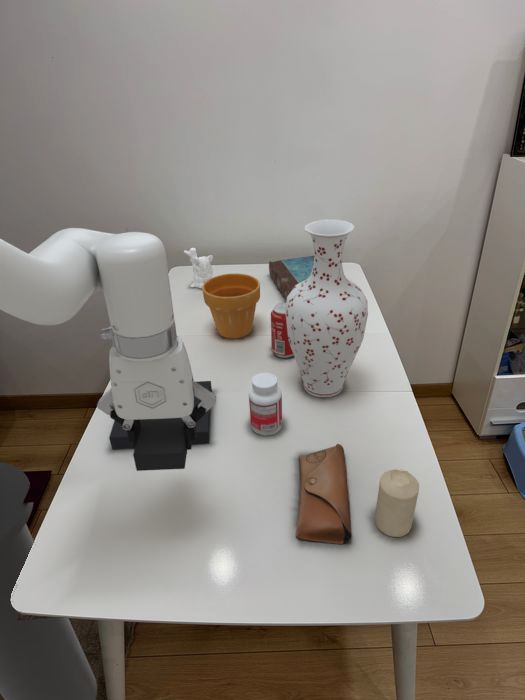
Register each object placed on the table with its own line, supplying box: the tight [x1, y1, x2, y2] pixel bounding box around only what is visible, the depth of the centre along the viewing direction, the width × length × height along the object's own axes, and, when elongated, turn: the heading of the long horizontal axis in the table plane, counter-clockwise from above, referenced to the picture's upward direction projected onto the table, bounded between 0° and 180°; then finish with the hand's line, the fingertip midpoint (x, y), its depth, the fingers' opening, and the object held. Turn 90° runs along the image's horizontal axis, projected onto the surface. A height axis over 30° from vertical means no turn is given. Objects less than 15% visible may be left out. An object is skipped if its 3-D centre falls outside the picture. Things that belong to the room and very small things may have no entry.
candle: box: [374, 468, 420, 538], centre depth 72 cm, size 6×6×10 cm
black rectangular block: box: [132, 418, 188, 472], centre depth 70 cm, size 6×12×3 cm, turn 2°
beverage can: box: [270, 302, 294, 359], centre depth 113 cm, size 6×6×12 cm
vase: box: [285, 218, 369, 398], centre depth 96 cm, size 16×16×35 cm
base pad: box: [108, 380, 213, 451], centre depth 97 cm, size 18×16×3 cm
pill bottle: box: [248, 372, 283, 436], centre depth 92 cm, size 6×6×11 cm
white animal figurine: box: [183, 247, 214, 290], centre depth 147 cm, size 8×7×12 cm
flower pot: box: [201, 272, 261, 339], centre depth 123 cm, size 14×14×13 cm
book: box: [268, 255, 315, 301], centre depth 146 cm, size 23×18×5 cm
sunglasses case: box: [295, 443, 353, 545], centre depth 79 cm, size 18×7×7 cm
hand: (164, 443), depth 69 cm, fingers closed on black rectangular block, 6 cm apart
